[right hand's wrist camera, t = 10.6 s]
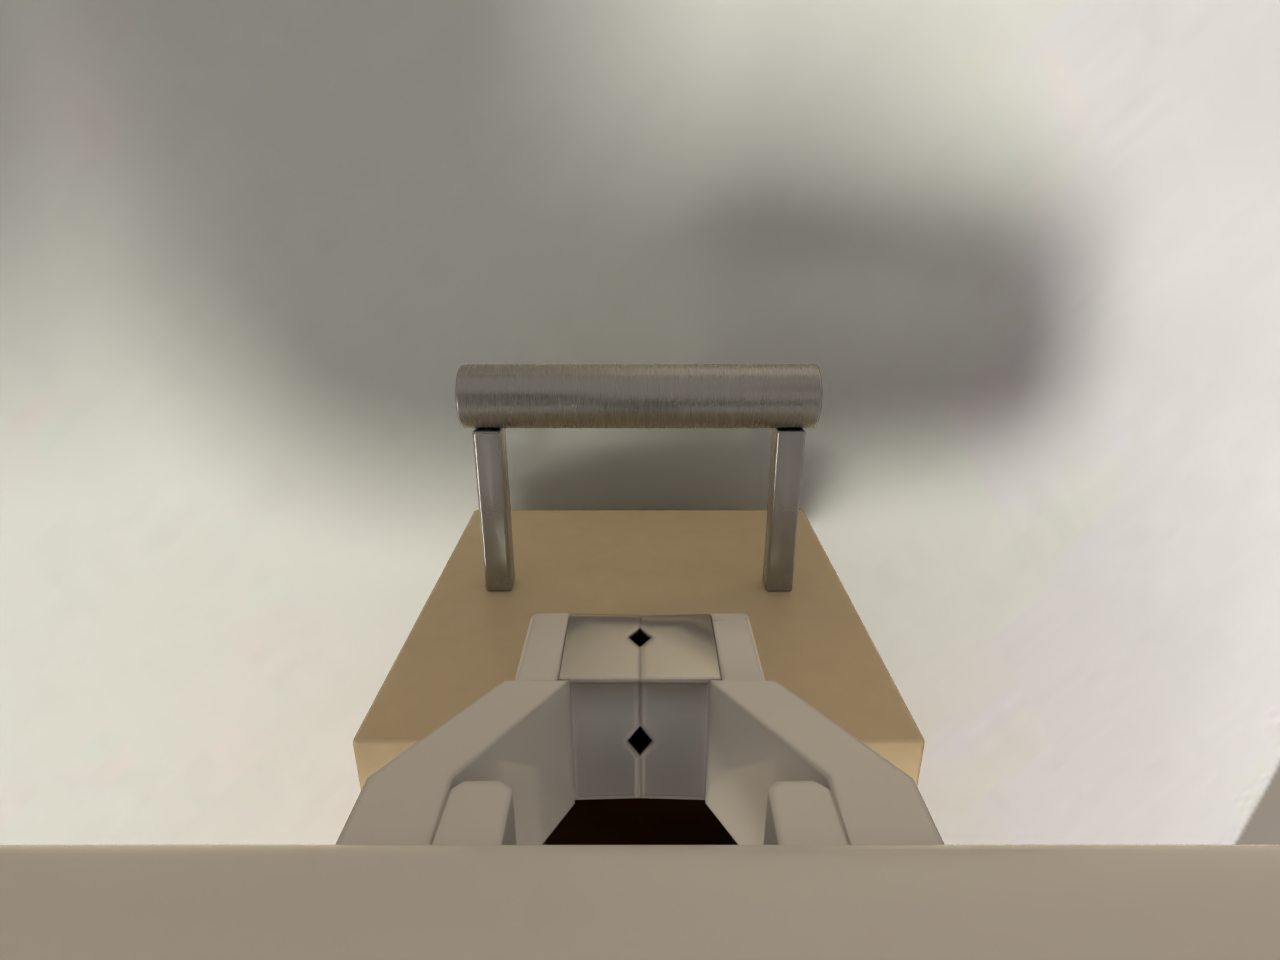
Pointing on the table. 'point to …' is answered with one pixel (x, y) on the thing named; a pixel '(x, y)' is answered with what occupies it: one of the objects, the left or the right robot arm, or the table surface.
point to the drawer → (638, 574)
